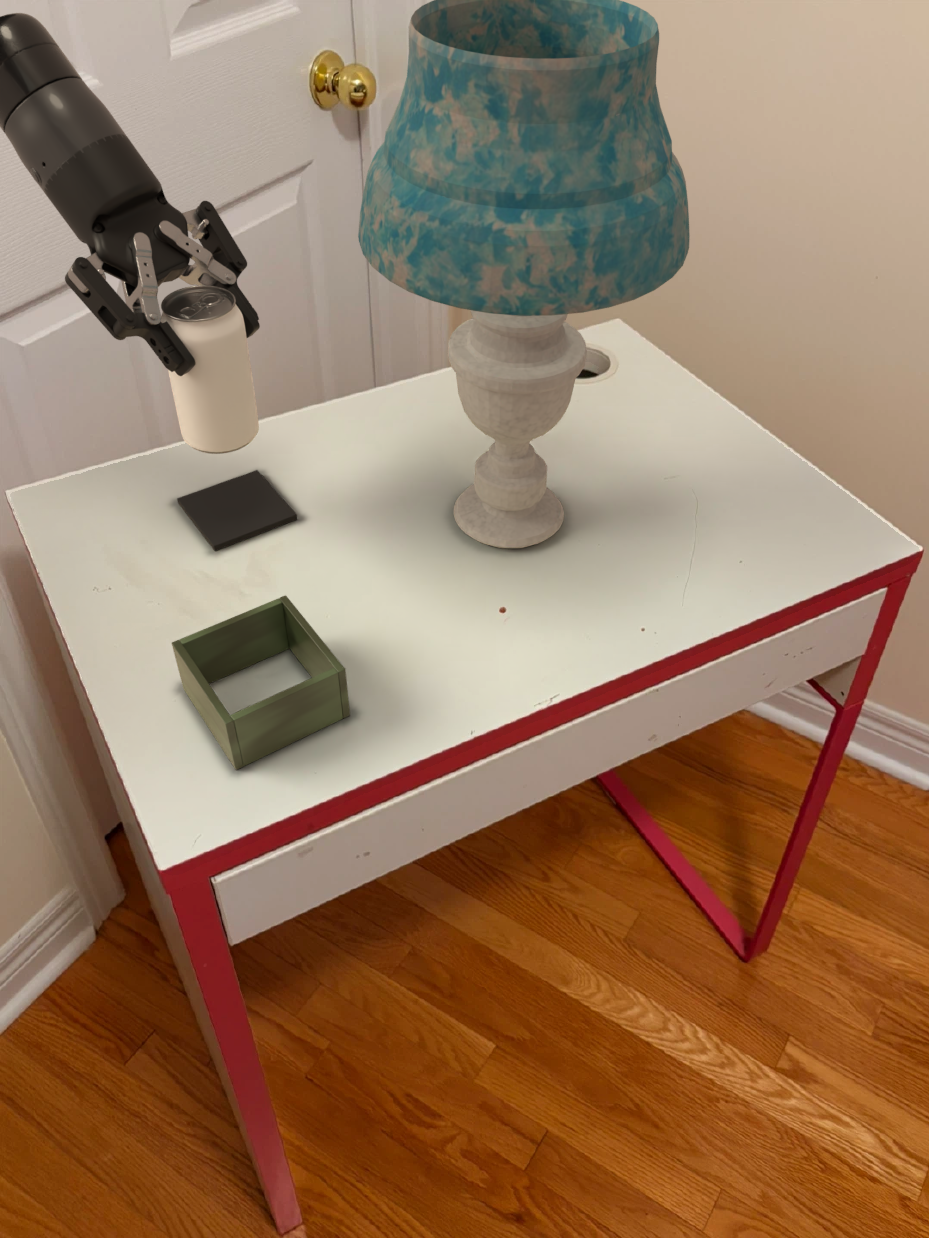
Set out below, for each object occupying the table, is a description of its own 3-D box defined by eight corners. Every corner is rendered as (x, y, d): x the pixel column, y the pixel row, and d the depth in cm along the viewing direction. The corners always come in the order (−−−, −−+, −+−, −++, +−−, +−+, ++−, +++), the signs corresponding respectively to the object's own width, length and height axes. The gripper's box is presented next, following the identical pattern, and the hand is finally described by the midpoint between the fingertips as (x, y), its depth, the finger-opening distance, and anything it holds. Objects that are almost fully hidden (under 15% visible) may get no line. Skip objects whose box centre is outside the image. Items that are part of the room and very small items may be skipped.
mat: (214, 551, 90) (213, 546, 90) (177, 503, 95) (176, 498, 95) (297, 519, 94) (296, 514, 93) (258, 474, 98) (257, 469, 98)
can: (275, 427, 89) (258, 297, 81) (224, 465, 85) (200, 331, 77) (218, 404, 92) (195, 275, 83) (165, 440, 88) (136, 307, 79)
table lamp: (687, 576, 89) (796, 62, 61) (414, 632, 83) (398, 98, 56) (582, 424, 105) (631, -36, 77) (349, 463, 100) (312, -15, 72)
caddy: (235, 770, 74) (225, 724, 70) (183, 688, 79) (171, 642, 75) (350, 715, 77) (345, 668, 74) (292, 641, 83) (286, 594, 79)
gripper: (18, 164, 71) (171, 371, 75) (174, 106, 80) (305, 294, 83) (-9, 221, 77) (135, 410, 81) (139, 161, 86) (263, 335, 89)
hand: (221, 351), depth 82 cm, fingers closed on can, 6 cm apart
